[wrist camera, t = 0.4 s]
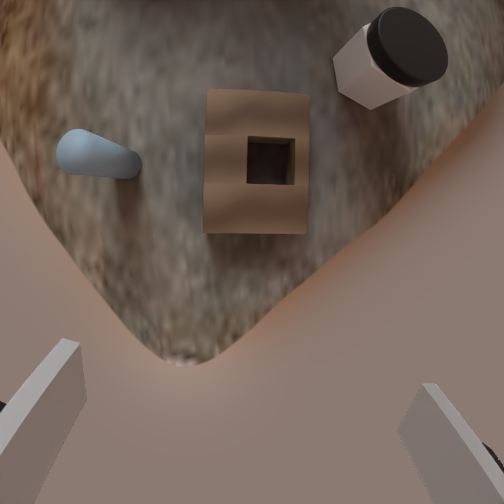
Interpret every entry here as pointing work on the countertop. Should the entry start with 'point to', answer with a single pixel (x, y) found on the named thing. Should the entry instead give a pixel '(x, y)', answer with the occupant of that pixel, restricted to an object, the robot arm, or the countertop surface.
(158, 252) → the countertop surface
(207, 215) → the hole block
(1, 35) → the countertop surface
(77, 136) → the peg
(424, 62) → the jar
